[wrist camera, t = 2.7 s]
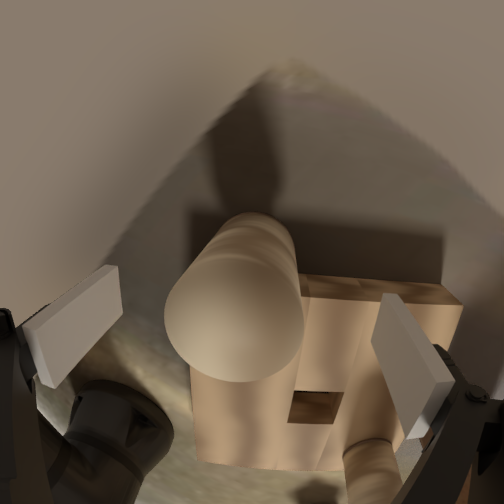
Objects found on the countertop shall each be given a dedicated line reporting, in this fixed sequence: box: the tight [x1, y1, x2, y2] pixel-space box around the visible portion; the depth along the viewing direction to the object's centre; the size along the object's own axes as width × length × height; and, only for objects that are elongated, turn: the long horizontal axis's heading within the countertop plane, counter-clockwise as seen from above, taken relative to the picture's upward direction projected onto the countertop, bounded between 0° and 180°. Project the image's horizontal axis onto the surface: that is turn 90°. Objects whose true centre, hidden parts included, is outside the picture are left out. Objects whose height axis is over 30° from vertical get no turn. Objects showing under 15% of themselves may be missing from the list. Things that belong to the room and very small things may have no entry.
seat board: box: [190, 273, 464, 504], centre depth 24 cm, size 24×24×16 cm
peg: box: [164, 212, 304, 382], centre depth 20 cm, size 6×6×16 cm
